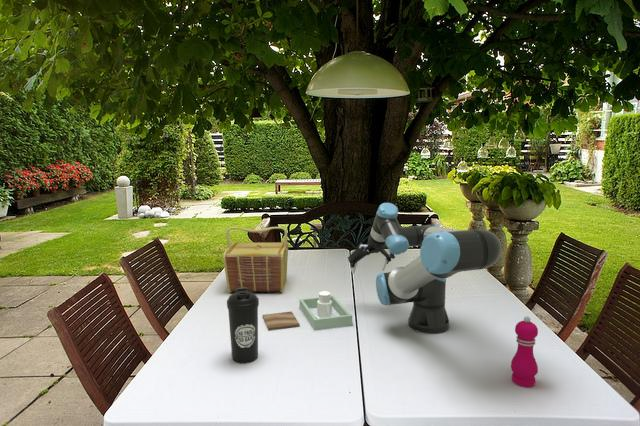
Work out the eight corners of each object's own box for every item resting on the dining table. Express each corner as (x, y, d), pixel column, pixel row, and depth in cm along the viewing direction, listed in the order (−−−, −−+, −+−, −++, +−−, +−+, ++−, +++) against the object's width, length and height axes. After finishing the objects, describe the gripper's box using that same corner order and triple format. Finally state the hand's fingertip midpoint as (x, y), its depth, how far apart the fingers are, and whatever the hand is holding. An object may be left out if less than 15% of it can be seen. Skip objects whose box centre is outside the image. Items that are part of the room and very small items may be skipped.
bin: (352, 325, 178) (352, 315, 177) (314, 330, 174) (314, 320, 173) (333, 304, 201) (333, 295, 200) (299, 308, 197) (299, 299, 196)
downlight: (312, 314, 190) (312, 291, 188) (328, 311, 193) (328, 288, 191) (320, 322, 183) (320, 298, 181) (336, 319, 185) (336, 295, 183)
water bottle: (230, 366, 147) (227, 297, 144) (228, 352, 157) (225, 287, 153) (262, 362, 150) (260, 293, 146) (258, 348, 160) (255, 284, 156)
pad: (299, 326, 178) (299, 324, 177) (268, 330, 174) (268, 328, 174) (291, 313, 191) (291, 311, 191) (262, 317, 188) (262, 314, 188)
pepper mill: (529, 375, 139) (533, 311, 136) (541, 388, 132) (546, 321, 129) (505, 375, 139) (509, 312, 136) (516, 388, 132) (520, 321, 129)
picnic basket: (222, 296, 213) (219, 232, 208) (234, 279, 238) (231, 222, 233) (286, 296, 212) (284, 232, 207) (291, 279, 237) (289, 221, 232)
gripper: (404, 226, 190) (391, 260, 204) (346, 231, 183) (337, 265, 197) (411, 240, 185) (397, 273, 199) (352, 245, 178) (342, 279, 192)
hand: (367, 269), depth 198 cm, fingers open, 13 cm apart
